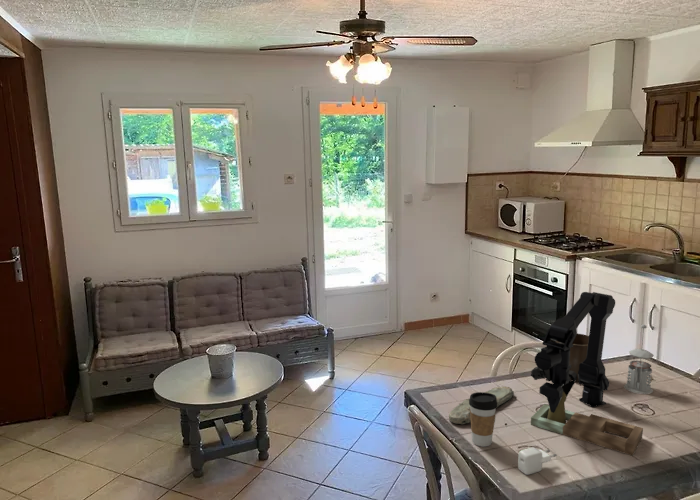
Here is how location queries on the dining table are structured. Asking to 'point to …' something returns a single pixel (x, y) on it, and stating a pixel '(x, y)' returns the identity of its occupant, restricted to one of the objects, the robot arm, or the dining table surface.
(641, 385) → the french press
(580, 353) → the plant pot
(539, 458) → the power adapter
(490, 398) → the coffee cup
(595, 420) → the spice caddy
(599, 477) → the dining table surface
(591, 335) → the robot arm
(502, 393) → the elongated rock
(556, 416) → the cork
